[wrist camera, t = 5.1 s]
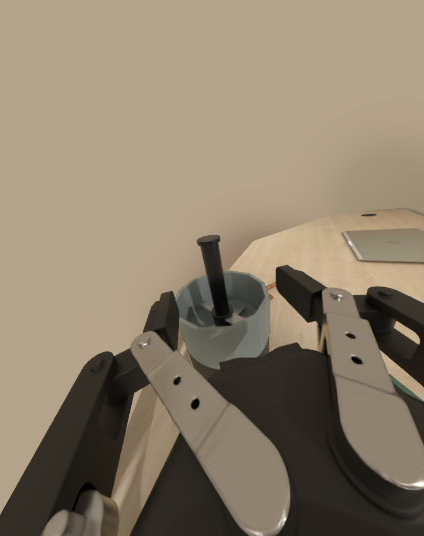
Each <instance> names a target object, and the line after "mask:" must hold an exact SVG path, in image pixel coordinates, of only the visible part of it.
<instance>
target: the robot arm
mask: <svg viewBox="0 0 424 536" xmlns="http://www.w3.org/2000/svg"><path fill="white" fill-rule="evenodd" d="M276 288H277V290H278V292H279V293H280V294H281V295H282V296H283V297H284V298H285V299H286V300H287V301H288V303H289V304H290V305H291V306H292V307H293V308H294V309H295V310H296V311H297V312H298V313H299V314H300V315H301V316H302V317H303V318H304V319H305V320H306V321H307V322H308V323H309V322H313V321H316V322H317V347H318V351H315V350H310V349H302V348H301V347H300V345H299V344H298V343H293V344H289V345H285V346H281V347H278V348H276V349H275V350H273V351H271V352H269V353H268V354H266V355H264V356H263V357H239V358H235V359H231V360H227V361H223V362H219V365H220V370H218V371H217V372H216V373H214V374H213V375H212V376H211V377H210V378H209V379H208V380H206V379H205V378H204V377H203V376H202V375H201V374H200V373H199V372H198V371H197V370H196V369H195V368H194V367H193V366H192V365H191V364H190V363H189V362H188V361H187V360H186V359H185V358H184V357H183V356H182V355H181V354H180V353H179V352H178V351H177V344H178V330H179V316H180V315H179V308H178V305H177V302H176V299H175V297H174V294H173V292H172V291H170V292H166V293H162V294H161V297H160V301H157V302H155V303H154V304H153V306H152V307H151V309H150V313H149V315H148V318H147V321H146V324H145V327H144V330H143V333H142V334H141V335H139V336H138V337H137V338H135V340H134V341H133V342H132V344H131V347H130V348H129V349H128V350H126V351H124V352H122V353H120V354H118V355H116V356H114V355H113V354H112V353H111V352H108V351H107V352H103V353H100V354H98V355H96V356H95V357H93V358H92V359H91V360H90V361H88V362H87V364H85V366H84V367H83V369H82V370H81V372H80V374H79V376H78V377H77V379H76V381H75V383H74V385H73V386H72V388H71V390H70V392H69V393H68V395H67V397H66V399H65V401H64V402H63V404H62V406H61V408H60V409H59V411H58V413H57V415H56V417H55V418H54V420H53V422H52V424H51V425H50V427H49V429H48V431H47V433H46V434H45V436H44V438H43V440H42V441H41V443H40V445H39V447H38V449H37V450H36V452H35V454H34V456H33V457H32V459H31V461H30V463H29V465H28V466H27V468H26V470H25V472H24V474H23V475H22V477H21V479H20V481H19V483H18V484H17V486H16V488H15V490H14V491H13V493H12V495H11V497H10V498H9V500H8V502H7V504H6V505H5V507H4V509H3V511H2V513H1V515H0V536H118V528H119V510H118V506H117V504H116V502H115V501H114V500H112V499H111V494H112V490H113V485H114V481H115V476H116V472H117V468H118V463H119V459H120V454H121V450H122V445H123V441H124V436H125V432H126V427H127V423H128V418H129V414H130V409H131V405H132V401H133V396H134V393H135V392H137V391H138V390H140V389H142V388H143V387H145V386H147V385H148V384H151V385H152V387H153V389H154V390H155V392H156V393H157V395H158V397H159V398H160V400H161V402H162V403H163V405H164V406H165V408H166V410H167V411H168V413H169V415H170V416H171V418H172V420H173V421H174V423H175V424H176V426H177V428H178V429H179V431H180V433H179V435H178V437H177V439H176V441H175V444H174V446H173V448H172V450H171V452H170V454H169V456H168V458H167V460H166V462H165V464H164V466H163V468H162V470H161V472H160V474H159V476H158V478H157V481H156V483H155V485H154V487H153V489H152V491H151V493H150V495H149V497H148V499H147V501H146V503H145V505H144V507H143V509H142V511H141V513H140V515H139V518H138V520H137V522H136V524H135V526H134V528H133V530H132V532H131V534H130V536H424V402H423V401H421V400H419V399H417V398H415V397H412V396H410V395H408V394H406V393H404V392H402V391H400V390H398V389H396V388H394V386H393V384H392V381H391V379H390V376H389V373H388V371H387V368H386V366H385V363H384V360H383V358H382V355H381V353H380V350H381V351H382V352H383V353H384V354H386V355H387V356H388V357H389V358H390V359H391V360H393V361H394V362H395V363H396V364H397V365H399V366H400V367H401V368H402V369H403V370H404V371H406V372H407V373H408V374H409V375H410V376H412V377H413V378H414V379H415V380H416V381H417V382H419V383H420V384H421V385H422V386H423V387H424V303H422V302H420V301H418V300H416V299H414V298H412V297H410V296H408V295H406V294H403V293H401V292H399V291H397V290H394V289H391V288H387V287H379V286H376V287H370V288H369V289H368V290H367V294H366V295H352V294H351V293H349V292H348V291H346V290H343V289H339V288H327V287H325V286H324V285H322V284H321V283H319V282H318V281H316V280H315V279H313V278H311V277H310V276H308V275H307V274H305V273H304V272H302V271H299V270H294V269H293V268H291V267H290V266H288V265H285V266H280V267H277V268H276ZM396 321H398V322H400V323H401V324H403V325H404V326H406V327H408V328H409V329H411V330H412V331H414V332H415V333H416V334H417V335H418V336H419V338H420V344H419V345H418V344H417V343H415V342H414V341H412V340H411V339H409V338H408V337H406V336H405V335H403V334H402V333H400V332H399V331H397V330H396V329H394V328H393V327H394V325H395V323H396ZM379 349H380V350H379Z"/></svg>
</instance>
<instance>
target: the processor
mask: <svg viewBox="0 0 424 536" xmlns="http://www.w3.org/2000/svg"><path fill="white" fill-rule="evenodd" d="M223 274H224V280H225V286H226V292H227V298H228V304H230V305H231V306H232V308H233V307H234V306H235V305H236V304H237V303H238V304H240V305H242V306H245V307H246V309H245V310H244V311H243V312H241V313H240V314H239V316H241V317H243V318H245V319H243V320H241V321H239V322H237V323H235V324H233V325H231V326H219V327H211V326H212V325H213V324H214V321H213V316H212V312H210V311H208V310H207V309H205V308H203V307H202V306H200V303H202V302H203V301H205V300H206V299H209V300H211V301H212V297H211V292H210V287H209V283H208V278H207V275H204V276H201V277H199V278H196V279H193V280H192V281H191V282H189V283H188V284H187V285H185V286H184V287H183V288H181V289H180V290H179V291H178V293H177V295H176V297H175V299H176V302H177V305H178V308H179V315H180V316H179V328H180V331H181V333H182V336H183V339H184V342H185V344H186V347H187V350H188V352H189V354H190V357H191V360H192V362H193V365H194V368H195V369H196V370H197V371H198V372H199V373H200V374H201V375H202V376H203V377H204V378H205V379H206V380H208V379H209V378H210V377H211V376H212V375H213V374H214V373H216V372H217V371H218V370H220V365H219V362H223V361H227V360H231V359H235V358H239V357H263V356H264V355H266V354H268V353H269V333H270V301H269V295H268V292H267V289H266V286H265V283H264V282H263V281H261V280H259V279H258V278H256V277H254V276H253V275H251V274H249V273H243V272H237V271H223Z"/></svg>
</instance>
